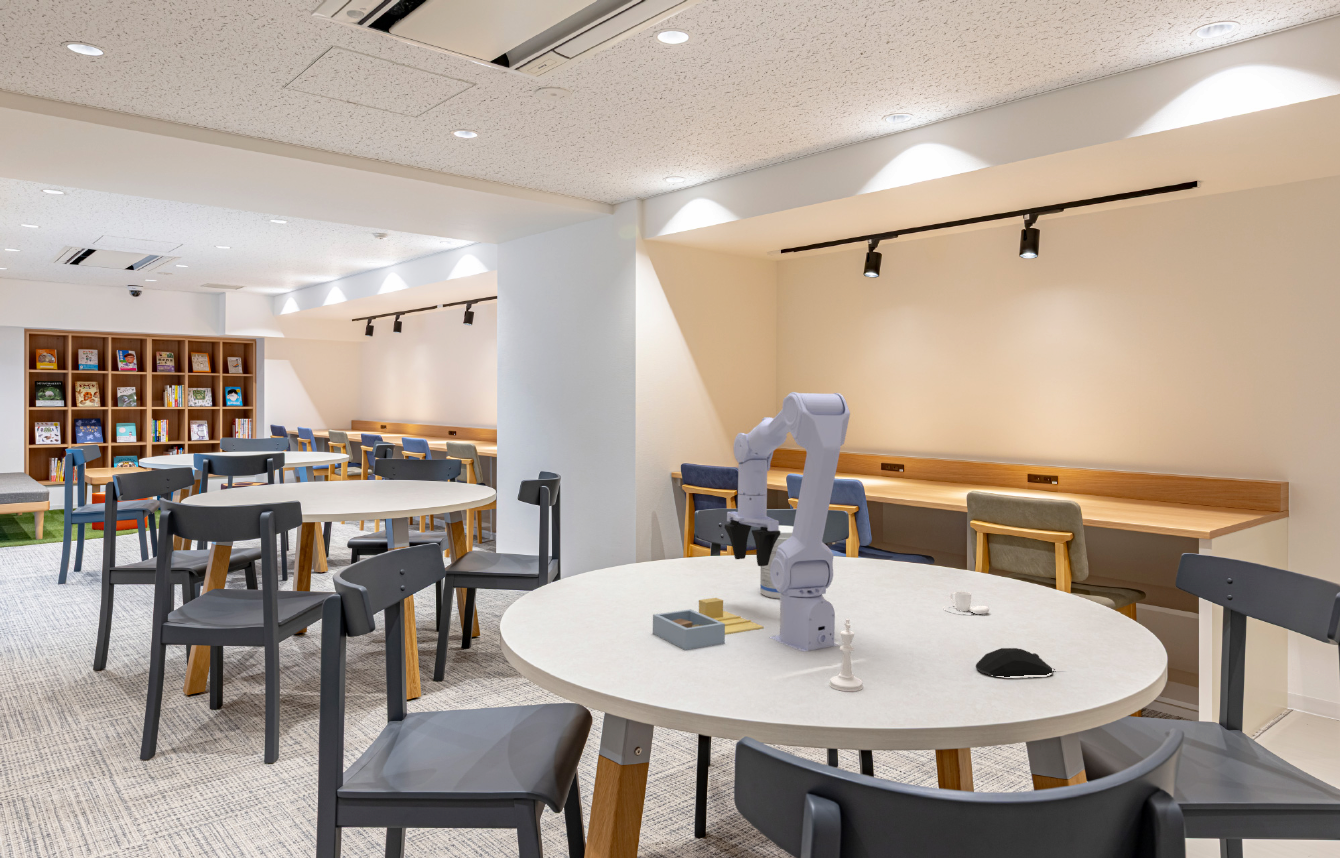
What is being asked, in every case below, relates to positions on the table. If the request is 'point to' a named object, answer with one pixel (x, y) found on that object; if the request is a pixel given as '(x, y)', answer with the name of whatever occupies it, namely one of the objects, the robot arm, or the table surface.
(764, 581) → the supplement tub
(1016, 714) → the table surface
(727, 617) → the lid
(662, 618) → the parts tub
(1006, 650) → the gaming mouse
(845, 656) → the chess piece
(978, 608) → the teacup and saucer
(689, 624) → the walnut block
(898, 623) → the table surface
